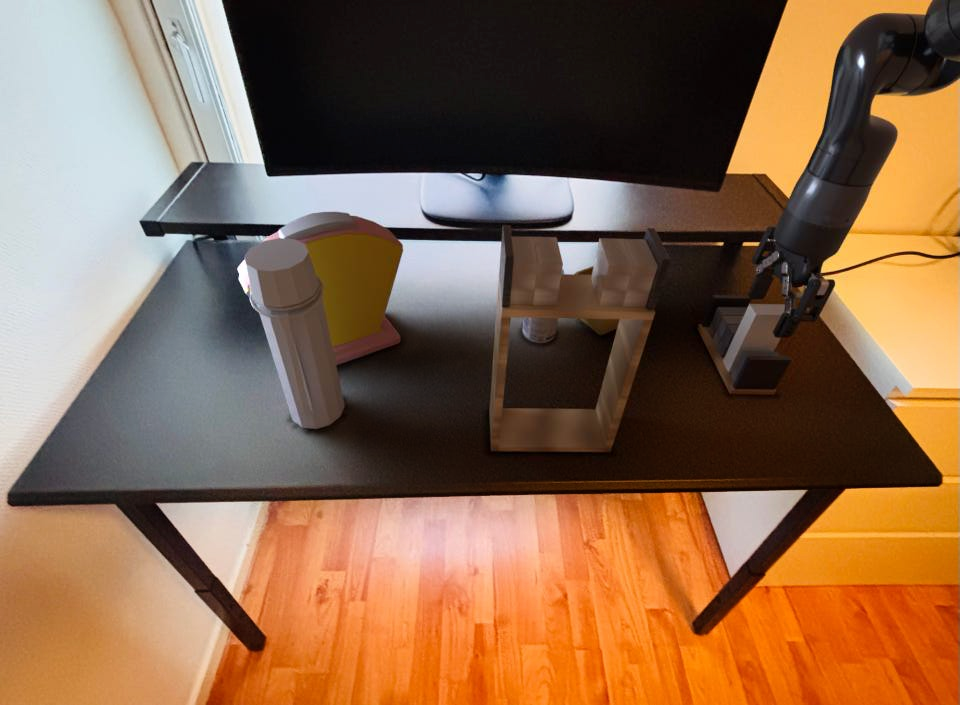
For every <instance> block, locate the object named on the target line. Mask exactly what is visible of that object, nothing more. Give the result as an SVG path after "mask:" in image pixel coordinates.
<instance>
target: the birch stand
mask: <svg viewBox="0 0 960 705" xmlns="http://www.w3.org/2000/svg"><path fill="white" fill-rule="evenodd" d="M495 310H496V312H495V325H494V340H493V353H492V354H493V355H492V356H493V357H492V370H491V385H490V399H489V436H490V437H489V438H490V439H489V440H490V452H549V453H550V452H551V453H553V452H556V453H559V452H560V453H561V452H562V453H563V452H564V453H565V452H566V453H567V452H568V453H569V452H570V453H611V452H612V448H613V445H614V443H615V439H616V436H617V433H618V430H619V427H620V423H621V420H622V418H623V415H624V411H625V408H626V405H627V402H628V398H629V395H630V393H631V389H632V387H633V383H634V381H635V380H634V379H635V377H636V374H637V370H638V367H639V364H640V361H641V359H642V356H643V353H644V349H645V346H646V342H647V339H648V336H649V334H650V331H651V327H652V324H653V320H654V319H653V320H634V319H620V320H619V324H618V328H617V329H616V332H615V336H614V340H613V343H612V347H611V351H610V354H609V358H608V362H607V365H606V369H605V373H604V377H603V380H602V384H601V388H600V392H599V396H598V399H597V403H596V405H595V406H596V407H595V408H530V407H529V408H527V407H526V408H524V407H523V408H522V407H521V408H519V407H517V408H515V407H513V408H512V407H511V408H510V407H504V398H505V387H506V377H507V376H506V375H507V367H508V366H507V364H508V352H509V342H510V332H511V321H512V317H501V308H500V294H499V280H498V281H497V296H496V309H495Z"/></svg>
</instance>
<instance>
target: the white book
mask: <svg viewBox="0 0 960 705" xmlns="http://www.w3.org/2000/svg"><path fill="white" fill-rule="evenodd" d="M784 309H785V304H784V303H783V304H781V303H777V304H774V303H772V304H771V303H749V306H748V308H747V310H746V312H745V314H744V316H743V319H742V321H741V323H740V325H739V327H738V329H737V332H736V334H735V336H734V338H733V340H732V342H731V344H730V347H729V349H728V351H727V353H726V355H725V357H724V360H723V363H724V365H725V367H726V369H727V371H728V372H733V371H734V369H735V367H736V365H737V363H738V361H739V359H740V357H741V354H742V352H743V351H761V352H775V349H776V348H777V346H778V344H779V342H780V340H781V339H782V338H776V337H775V336H774V334H773V330H774V329H775V327H776V325H777V323H778V321H779V319H780V317H781V315H782V313H784Z"/></svg>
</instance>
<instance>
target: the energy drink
mask: <svg viewBox="0 0 960 705" xmlns="http://www.w3.org/2000/svg"><path fill="white" fill-rule="evenodd" d="M561 274H565V270H564V269H563V268H562V273H561ZM558 322H559V318H523V323H522V334H523V336H524V337H525V338H526V339H527V340H528V341H529V342H533V343H537V344H545V343H549V342H550V341H552V340H553V339H554V338H555V337H556V332H557V327H558Z"/></svg>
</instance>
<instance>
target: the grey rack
mask: <svg viewBox="0 0 960 705" xmlns="http://www.w3.org/2000/svg"><path fill="white" fill-rule="evenodd" d="M751 301H752V299H750V298H749V296H748V295H746V294H745V295H743V294H742V295H739V294H737V295H735V294H731V295H730V294H712V296H711V299H710V301H709V303H708V306H707V309H706V311H705V314H704V316H703V319H702V321H701V323H699V324H698V327H697V331H698V332H699V335H700V336H701V339H702V341H703V343H704V345H705V347H706V349H707V351H708V353H709V355H710V357H711V359H712V361H713V362H714V365H715V367H716V370H717V371H718V373H719V375H720V377H721V379H722V381H723V383H724V385H725V387H726V389H727V391H728V393H729V395H761V396H762V395H763V396H764V395H767V396H768V395H771V396H774V395H775V394H776V392H777V387H778V385H779V384H780V382H781V380H782V378H784V375H785V373H786V371H787V370H788V368H789V366H790V365H791V364H792V361H793V359H792V357H791V356H790V355H781V354H779V352H778V351H774V352H761V351H743V352H742V354H741V357H740V359H739V361H738V363H737V365H736V367H735V369H734V371H733V372H728V371H727V369H726V367H725V365H724V363H723V360H724V357H725V355H726V353H727V351H728V349H729V347H730V344H731V342H732V340H733V338H734V336H735V334H736V332H737V329H738V327H739V325H740V323H741V321H742V319H743V316H744V314H745V312H746V310H747V308H748V306H749V304H751Z"/></svg>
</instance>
